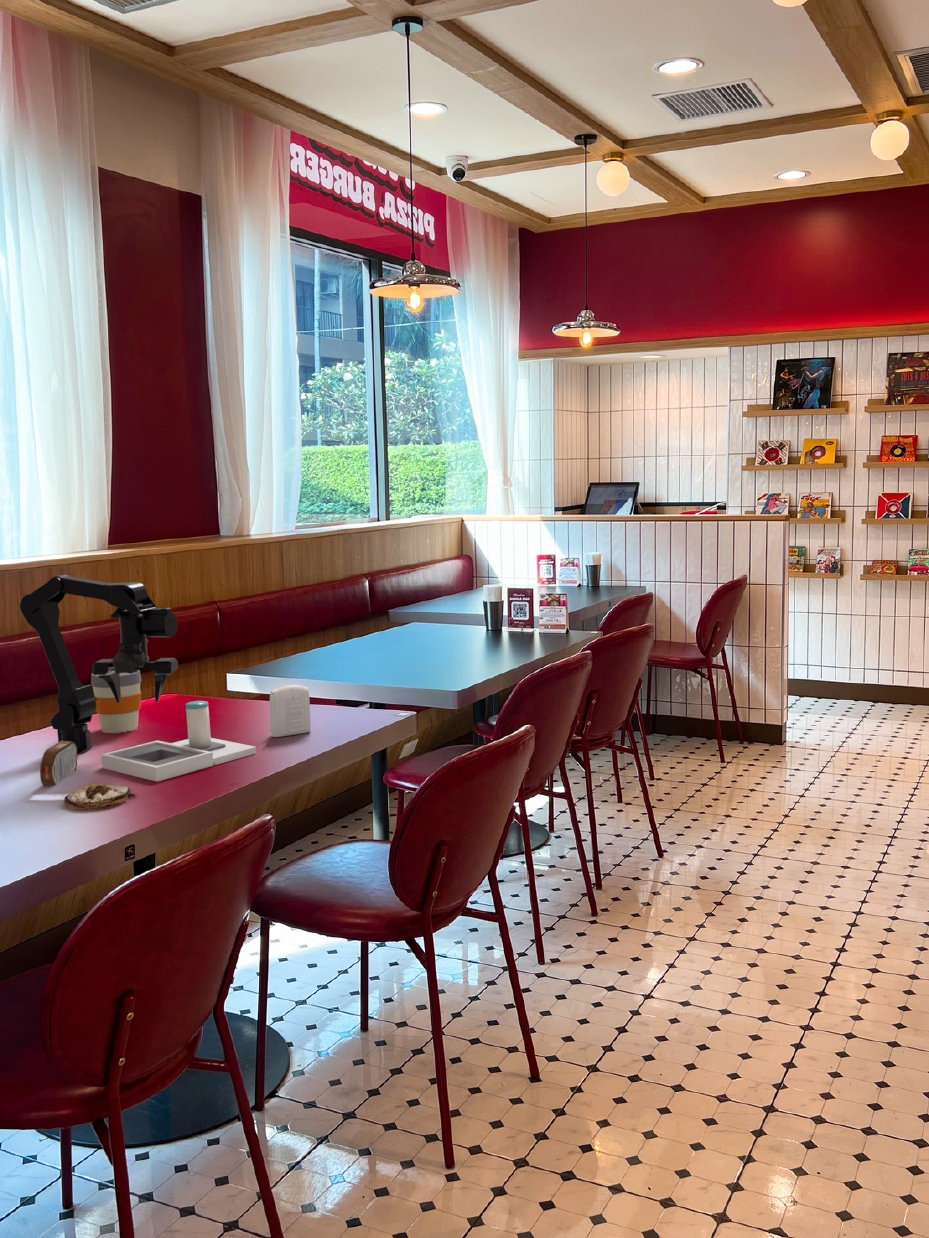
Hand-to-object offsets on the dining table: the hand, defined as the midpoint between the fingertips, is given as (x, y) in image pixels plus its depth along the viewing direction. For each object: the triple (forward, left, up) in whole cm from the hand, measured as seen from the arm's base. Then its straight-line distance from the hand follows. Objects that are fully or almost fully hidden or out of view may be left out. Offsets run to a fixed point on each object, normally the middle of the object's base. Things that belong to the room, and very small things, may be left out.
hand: (138, 702), depth 260 cm
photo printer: (+32, +18, -13) cm, 39 cm away
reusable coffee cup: (-15, +26, -13) cm, 33 cm away
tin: (-10, -23, -13) cm, 28 cm away
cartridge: (+16, -5, -9) cm, 19 cm away
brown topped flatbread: (+4, -37, -13) cm, 40 cm away
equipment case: (+13, -10, -13) cm, 20 cm away
